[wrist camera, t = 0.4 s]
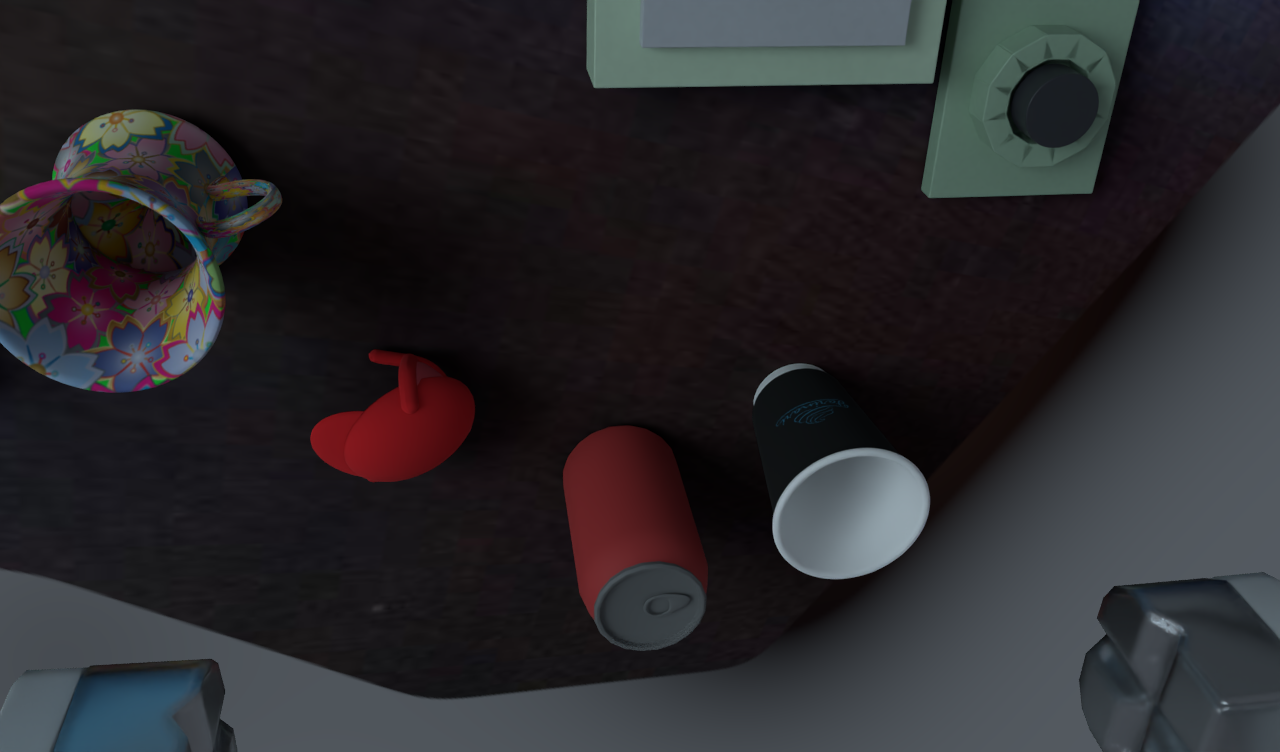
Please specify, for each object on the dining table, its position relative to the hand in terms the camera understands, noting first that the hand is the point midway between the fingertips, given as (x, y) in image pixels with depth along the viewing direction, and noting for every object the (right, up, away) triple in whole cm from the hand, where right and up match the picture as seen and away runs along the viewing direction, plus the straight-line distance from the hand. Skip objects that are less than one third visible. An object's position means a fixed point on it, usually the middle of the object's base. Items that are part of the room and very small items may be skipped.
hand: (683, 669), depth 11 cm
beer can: (-2, -2, +56) cm, 56 cm away
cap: (-13, +2, +51) cm, 53 cm away
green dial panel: (+19, +17, +47) cm, 54 cm away
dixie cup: (+8, +1, +55) cm, 56 cm away
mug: (-22, +12, +43) cm, 50 cm away
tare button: (+19, +16, +45) cm, 51 cm away
